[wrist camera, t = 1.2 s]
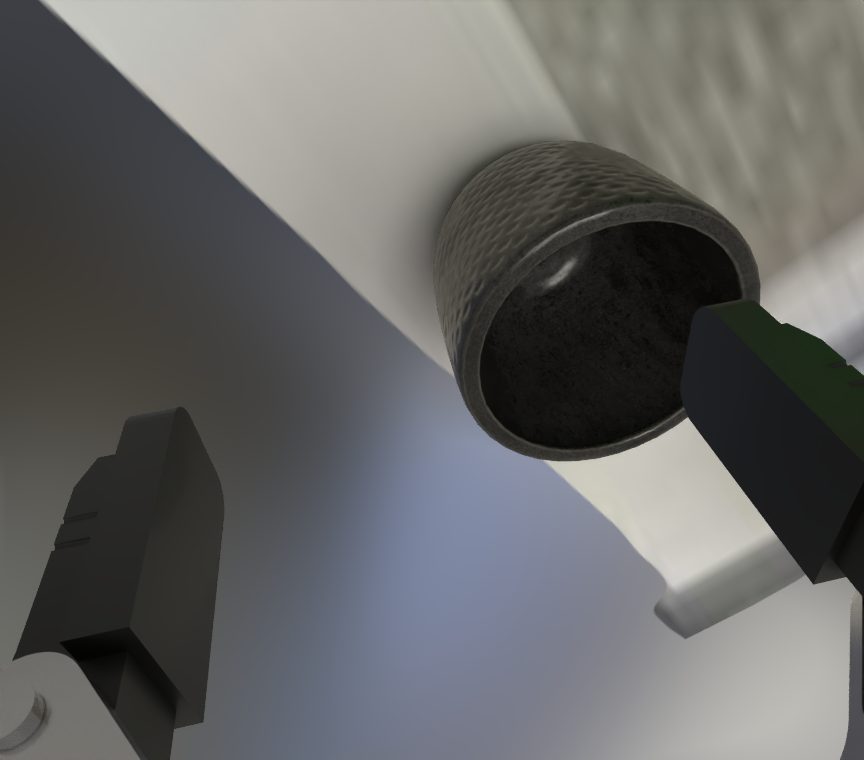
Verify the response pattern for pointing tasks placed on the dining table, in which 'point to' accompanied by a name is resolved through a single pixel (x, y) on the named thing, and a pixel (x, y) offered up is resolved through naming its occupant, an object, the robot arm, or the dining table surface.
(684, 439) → the dining table surface
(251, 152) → the dining table surface
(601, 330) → the planter
